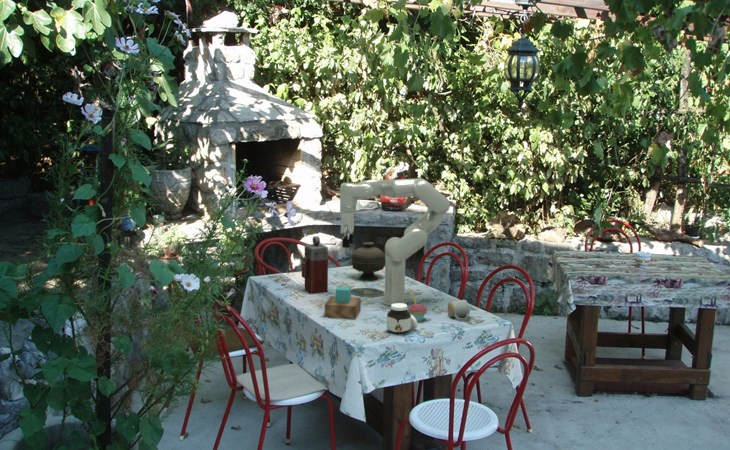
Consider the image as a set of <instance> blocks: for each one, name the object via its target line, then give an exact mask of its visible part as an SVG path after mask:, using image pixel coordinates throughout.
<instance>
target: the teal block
mask: <svg viewBox="0 0 730 450" xmlns="http://www.w3.org/2000/svg"><path fill="white" fill-rule="evenodd" d="M351 297H352V287H351V286H341V285H340V286H339V285H338V286H337V287H336V288H335V303H349V302H350V300H351Z"/></svg>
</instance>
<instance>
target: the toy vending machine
mask: <svg viewBox="0 0 730 450" xmlns="http://www.w3.org/2000/svg"><path fill="white" fill-rule="evenodd" d="M328 272H329V247H328V246H326V245H324V244H321V239H320V236H318V235H317V236H312V244H311V243H310V244H305V245H304V256H303V257H302V260H301V277H302V278H303V279H304V291H305V292H307V293H309V294H310V295H315V294H322V293H328V291H329V287H328V286H329V285H328V284H329V278H328V277H329V273H328Z"/></svg>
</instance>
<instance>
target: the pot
mask: <svg viewBox="0 0 730 450" xmlns="http://www.w3.org/2000/svg"><path fill="white" fill-rule="evenodd" d="M374 244H375V243H374V242H371V241H368V242H367V241H366V242H363V243H362V245H364V246H363V247H359V248H357V249H355V250H354V251H353V253H352V255H351V256H352V258H351V265H352V269H354V270H356V271H357V272H362V274H361V275H359V276H358V279H359V280H362V281H365V282H367V281H368V282H371V281H372V282H373V281H377V280H378V278H379V277H378V276H377V275H376V274H375V273H377V272H380V271H381V270H384V268H385V252H384V251H382V250H381V249H380V248H379V247H375V246H373V245H374Z"/></svg>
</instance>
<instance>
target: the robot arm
mask: <svg viewBox="0 0 730 450" xmlns="http://www.w3.org/2000/svg"><path fill="white" fill-rule="evenodd" d="M339 189H340V190H339V192H340V193H339V195H340V196H339V201H340V203H339V213H341V217H340V218H341V219H340V234H341V235H342V248H343V249H344V248H350V244H353V243H354V230H355V228H354V227H355V214H357V199H359V200H369V199H371V198H372V197H373V196H384V197H389V198H391V199H392V198H393V199H394V198H395V199H399V198H401V199H402V198H414V197H415V198H416V197H417V198H418V199H419V200H420V201H421V202H422V203H424V204H425V206H427V210H426V212H424V214H423V215H422V216H421V217H420V218H418V219H417V220H415V221H414V222H413V223H412V224H410V225H408V226H407V227H406V228H405V229H404V233H403V236H402V237H397V236H393V237H390V238H389V239H387V241H386V243H385V245H384V255H385V265H384V268H385V269H384V271H385V272H384V274H385V275H384V297H383V298H381V303H382V304H383V305H386V306H391V305H392V304H394V303H403V304H406V305H407V304H408V302H409V301H414V295H410V294H409V295H408V294H407V292H406V290H405V289H406V288H405V287H406V260H407V259H408V258H409V257H411V256H412V255H414V254H415V253H417V252H418V251H419V250H420V249H422V248H423V247H424V246H425V245H426V243H427V241H428V235H429V234H431V233H432V232H433V231H434V230H435V229H437V228H438V227H439V226H440V225H441V223H442V222H443V219H444V216H445V214H446V213H447V212H449V210H450V207H451V206H450V205H451V203H450V200H449V199H448V198H447V197H446V196H445V195H444V194H442V193H441V192H440V191H439V190H438V189H436V188H435V187H434V186H433V185H432V184H431V183H430V182H429V181H427V180H426V179H424V178H403V179H401V178H400V179H399V178H398V179H373V180H372V179H371V180H370V179H369V180H362V181H359V182H358V183H354V182H342V183H341V184H340V188H339Z"/></svg>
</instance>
